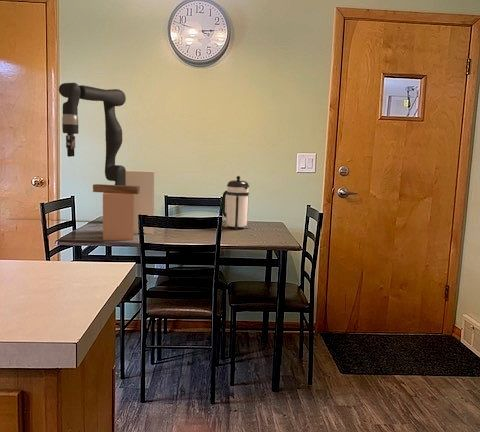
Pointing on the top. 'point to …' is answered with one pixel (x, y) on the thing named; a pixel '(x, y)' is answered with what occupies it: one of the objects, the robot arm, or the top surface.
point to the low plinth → (118, 216)
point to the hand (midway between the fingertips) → (70, 156)
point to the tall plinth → (142, 195)
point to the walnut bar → (116, 189)
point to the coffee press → (236, 203)
